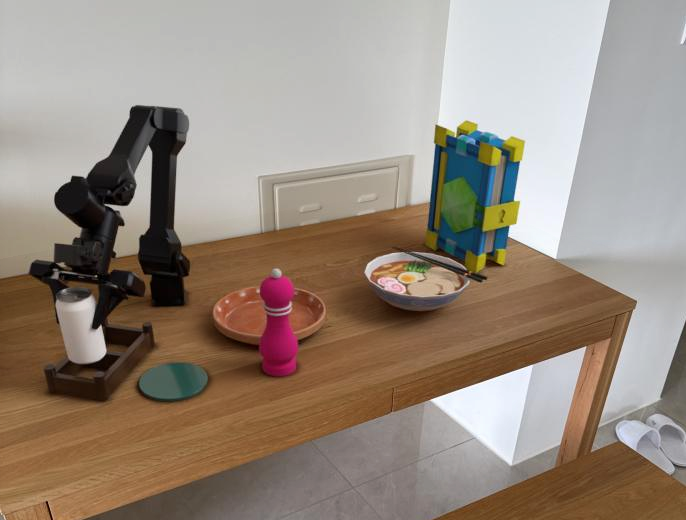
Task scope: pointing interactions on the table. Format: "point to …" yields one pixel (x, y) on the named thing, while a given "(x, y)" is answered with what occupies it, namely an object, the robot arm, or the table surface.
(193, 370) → the coaster
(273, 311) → the pepper mill
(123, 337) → the rack
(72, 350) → the can
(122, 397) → the table surface
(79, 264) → the robot arm
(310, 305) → the saucer
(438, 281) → the ramen bowl
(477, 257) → the decorative book
